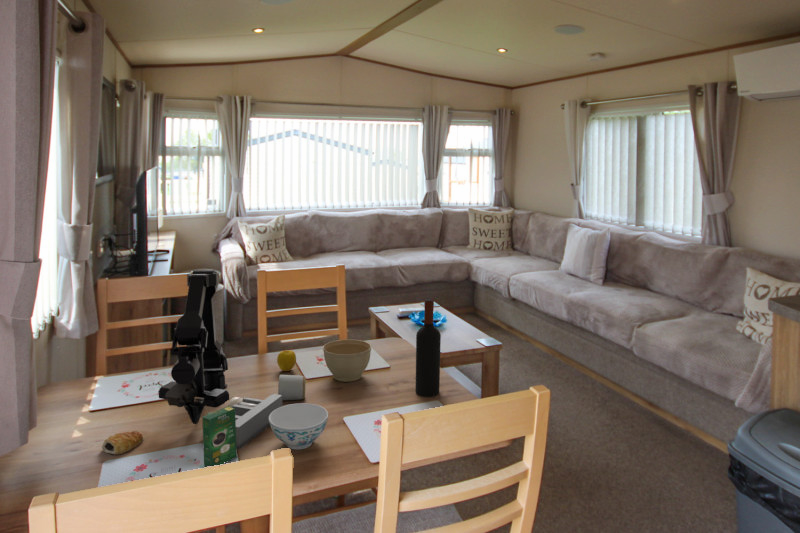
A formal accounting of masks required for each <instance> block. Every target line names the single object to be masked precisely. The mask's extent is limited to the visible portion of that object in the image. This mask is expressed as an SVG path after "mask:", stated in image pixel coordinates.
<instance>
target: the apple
mask: <svg viewBox="0 0 800 533" xmlns="http://www.w3.org/2000/svg"><path fill="white" fill-rule="evenodd" d="M276 362H277V365H278V367H279V369H280V370H281V371H283V372H289V371H291V370H292V369H293V368H294V367H295V365H296V362H297V355H296V353H295V351H294V350H290V349H289V350H284V349H283V350H281V351H280V352H279V353H278V355H277V358H276Z"/></svg>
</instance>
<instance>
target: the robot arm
mask: <svg viewBox="0 0 800 533" xmlns="http://www.w3.org/2000/svg"><path fill="white" fill-rule="evenodd" d="M186 283H187V284H186V286H187V287H188V289H187V296H186V301H185V307H184V313H183V315H182V316H180V317H179V318H178V320H177V323H176V326H175V327H174V329H173V332H172V333H173V334H172V345H171V355H177V360H176V362H175V363H174V365H173V366H172V368H171V371H170V375H171V379H173V381H169V382H168V383H166V384H164V385H162V386H161V387H160V388H159V390H158V399H162V400H166V401H167V404H168V406H170V407H172V406H174V407H177V408H183V407H184V409H185V410H186V412H187V414H188V417H189V419H190V421H191V423H192V425H197V424H199V421H200V420H201V419H200V418H202V417H201V416H202V414H203V412H204V409H205V408H206V407H207V408H208V407H209V408H214V409H216V408H219V407H220V406H222V405H223V404H225V403H227V402H228V401H230V393H229V390H227V389H225V388H227V387H228V384H227V383H226V375H225V372H226V371H228V370H229V363H228V358H227V357H226V354H225V353H224V350H223V346H222V344H221V343H220V341H218V340H217V332H216V331H217V330H216V328H217V327H216V317H215V316H216V315H215V304H214V303H215V302H214V295H215V294H216V291H217V290H218V287H219V285H220V273H219V272H217V271H216V269H213V268H212V269H211V268H209V269H193V270H192V273H187V274H186Z"/></svg>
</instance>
